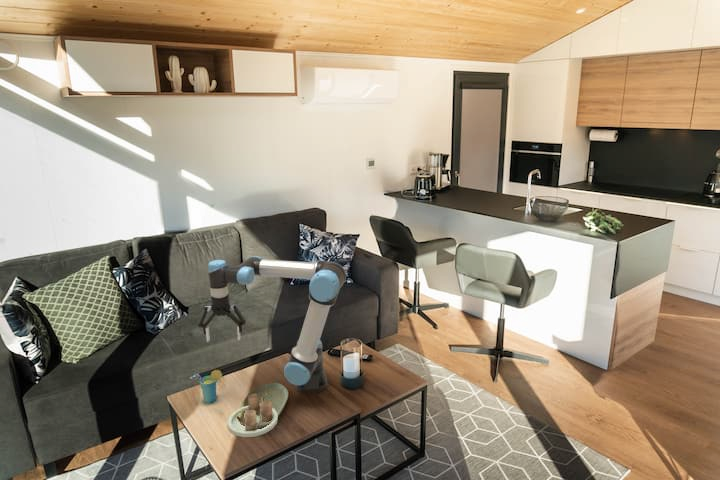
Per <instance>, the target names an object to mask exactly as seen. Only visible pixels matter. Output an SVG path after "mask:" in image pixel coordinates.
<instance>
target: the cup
mask: <svg viewBox="0 0 720 480" xmlns="http://www.w3.org/2000/svg"><path fill="white" fill-rule="evenodd" d="M196 377H198V379H199V385H200V386H201V392H202V397H203V400H204V404H206V405H211V404H214V403H216V402H217V383H218V382H217V381H220V380H222V377H223V373H222V372H221V370H218V369H215V370H213V371H211V373H210V375H204V376H202V377H201V375H200V374H198V373H196V374H194V375H193V376H190V377H189V379H190V380H192V379H194V378H196Z"/></svg>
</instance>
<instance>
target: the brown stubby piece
mask: <svg viewBox="0 0 720 480" xmlns="http://www.w3.org/2000/svg"><path fill="white" fill-rule="evenodd" d="M247 404H248V405H247V406H248V407H249V410H255V411H256V415H259V414H260V404H261V403H260V396H259V394H258V393H251V394H250V395H248V396H247Z"/></svg>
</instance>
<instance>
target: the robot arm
mask: <svg viewBox="0 0 720 480" xmlns="http://www.w3.org/2000/svg"><path fill="white" fill-rule="evenodd" d="M207 267H208V271H207V274H208V278H209V290H210V291H209V292H210V299H211V300H210V301H211V305H205V306H204V312H203V314H202V317H201V318H200V320H199V323H198V328H202V329H203V335H205V336H206V337H205V338H206V342H207V343H209V342H210V339H211V337H210V328H209V324H210V323H211V321H213V318H215V316H217V317H219V316H227V317H228V318H230V319H231V320H232V321H233V322H234V323H235V324H236V325H237V326H236V330H237V331H236V332H237V341H240V340H241V333H242V332H243V326H245V325H246V319H245V317H244V316H243V314H242V313H241V311H240V309H239V308H238V304H237V303H234V304H230V296H229V286H228V285H229V284H230V285H231V284H235V285H243V286H244V285H251V284H252V283H253V282H254V279H255V276H263V277H274V278H275V277H277V278H287V279H297V280H298V279H300V280H310V282H309V293H308V298H309V300H310V302H309V306H308V309H307V311H306V314H305V318H304V321H303V325H302V328H301V331H300V334H299V335H300V336H299V338H298V340H297V341H296V345H295V346H294V347H292V349H291V353H290V355H289V359H288V361H287V362H286V364H285V366H284V368H283V375H284V378H285V379H286V380H287V381H288V382H289V383H290V384H292V385H294V386H295V389H296V390H297V392H300V393H307V394H308V393H315V394H317V393H321V392H323V391H324V390H326V388H327V387H328V378H327V376H326V372H325V370H324V358H323V356H324V355H323V343H322V341H321V337H322V334H323V332H324V331H323V330H324V327H325V325H326V321H327V318H328V315H329V312H330V309H331V307H332V306H334V305H335V304H336V301H337V298H338V295H339V293H340V289H341V288H342V286H343V285H344V284H345V282H346V280H347V273H346V270H345V268H344V266H342V265H341V264H340V263H338V262H335V261H328V260H327V261H326V260H317V261H316V262H311V261H310V262H309V261H308V262H307V261H295V260H294V261H293V260H280V259H265V258H264V259H263V258H261V257H260V256H257V255H253V256H250V257H248V258H247V259H245V260H244V261H243V262H241V263H240V264H238V265H236V266H235V265H234V266H233V265H231V266H230V265H227V263H226V260H223V259H216V260H215V259H214V260H211V261H210V262H209V263H208V266H207ZM231 309H232V310H233V312H234V313H232V311H231ZM210 311H212V314H211V315H210V316H209V317H208V318H207V320H206V321H205V319H206V316H207V315H208V312H210ZM235 314H236V315H235Z"/></svg>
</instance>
